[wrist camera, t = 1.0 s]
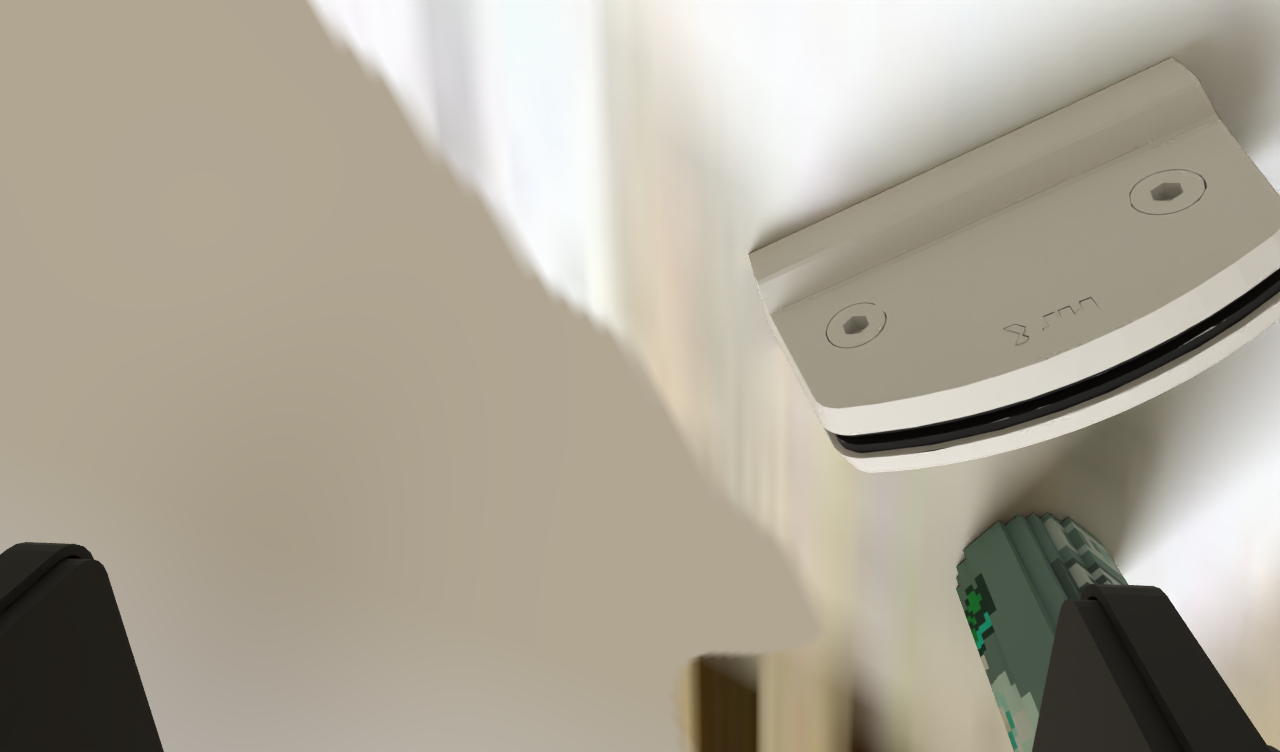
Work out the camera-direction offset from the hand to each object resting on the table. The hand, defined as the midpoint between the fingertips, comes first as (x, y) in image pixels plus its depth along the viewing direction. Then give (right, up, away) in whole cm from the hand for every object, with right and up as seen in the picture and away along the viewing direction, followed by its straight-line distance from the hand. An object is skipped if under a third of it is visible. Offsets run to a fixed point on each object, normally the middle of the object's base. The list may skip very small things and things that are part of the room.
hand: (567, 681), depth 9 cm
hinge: (+14, +8, +26) cm, 31 cm away
